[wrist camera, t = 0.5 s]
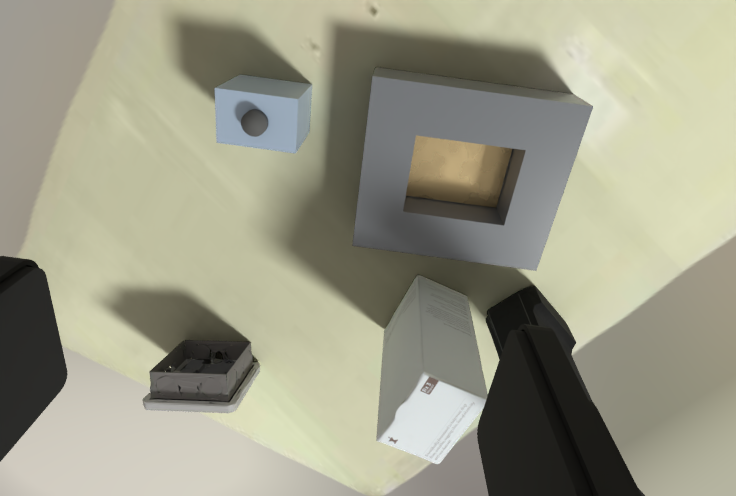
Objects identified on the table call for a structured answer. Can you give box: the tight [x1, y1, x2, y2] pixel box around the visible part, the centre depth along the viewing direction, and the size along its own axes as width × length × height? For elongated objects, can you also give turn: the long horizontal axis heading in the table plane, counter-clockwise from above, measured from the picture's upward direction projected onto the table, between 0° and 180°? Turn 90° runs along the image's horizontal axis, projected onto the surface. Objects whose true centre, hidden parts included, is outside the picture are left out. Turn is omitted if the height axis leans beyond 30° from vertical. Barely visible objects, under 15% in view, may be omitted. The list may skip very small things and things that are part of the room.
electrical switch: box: [143, 340, 260, 413], centre depth 49 cm, size 9×5×9 cm, turn 91°
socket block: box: [352, 67, 593, 271], centre depth 39 cm, size 14×16×4 cm
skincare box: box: [377, 275, 488, 464], centre depth 42 cm, size 8×6×15 cm
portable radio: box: [486, 286, 645, 496], centre depth 38 cm, size 8×6×25 cm
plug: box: [215, 74, 312, 153], centre depth 37 cm, size 4×6×7 cm, turn 83°
